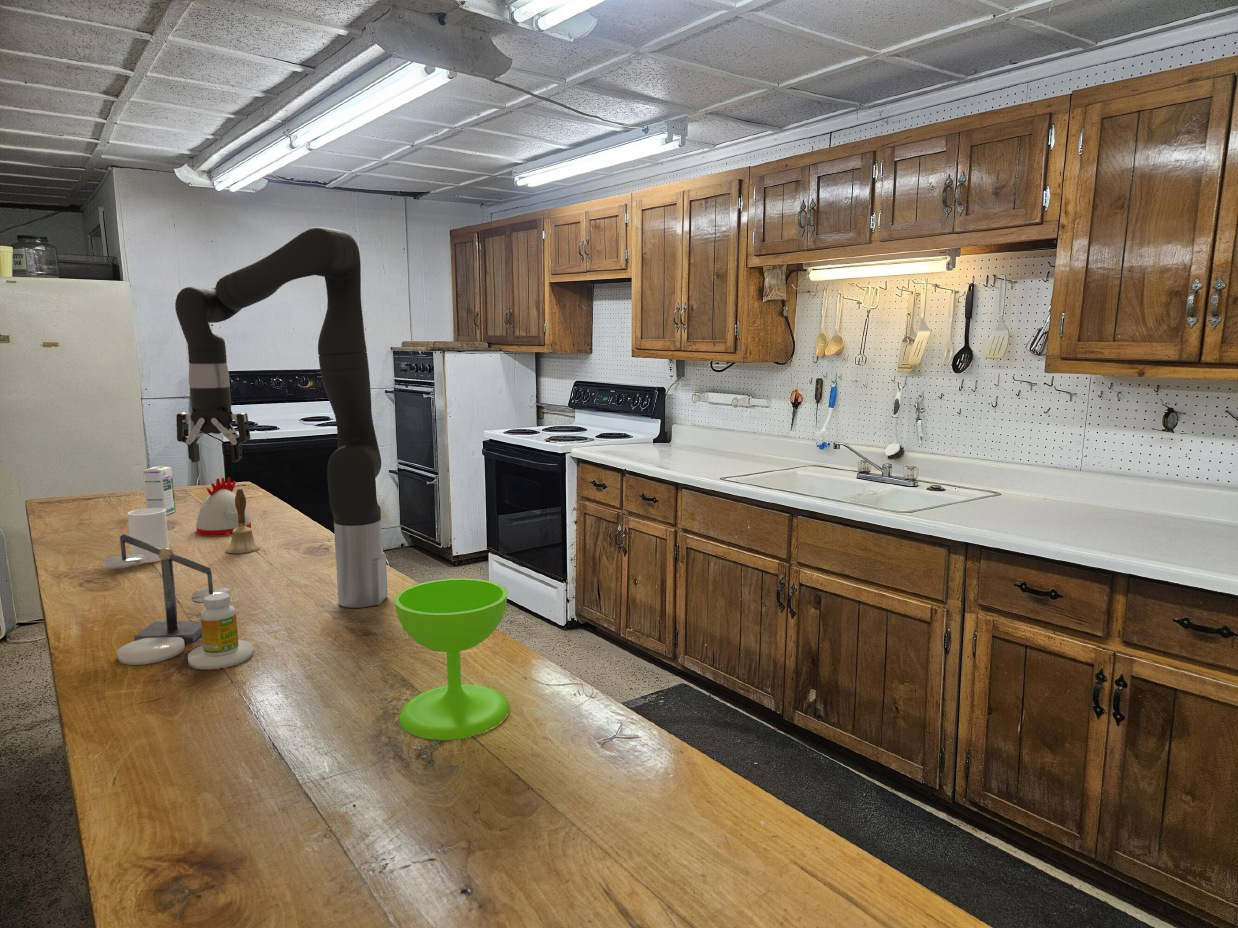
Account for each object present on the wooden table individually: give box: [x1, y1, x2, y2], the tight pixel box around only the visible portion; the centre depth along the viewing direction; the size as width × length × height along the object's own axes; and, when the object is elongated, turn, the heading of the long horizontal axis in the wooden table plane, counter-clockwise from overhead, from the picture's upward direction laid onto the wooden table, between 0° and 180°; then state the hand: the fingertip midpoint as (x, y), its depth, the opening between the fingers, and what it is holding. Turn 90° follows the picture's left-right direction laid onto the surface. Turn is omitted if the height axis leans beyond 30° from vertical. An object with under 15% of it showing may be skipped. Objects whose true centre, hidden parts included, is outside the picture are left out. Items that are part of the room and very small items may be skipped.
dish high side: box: [117, 636, 186, 666], centre depth 136 cm, size 10×10×1 cm
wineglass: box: [393, 577, 511, 741], centre depth 113 cm, size 16×16×18 cm
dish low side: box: [187, 639, 254, 671], centre depth 134 cm, size 10×10×1 cm
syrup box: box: [142, 465, 177, 516], centre depth 240 cm, size 6×6×14 cm
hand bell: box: [225, 488, 262, 555], centre depth 200 cm, size 8×8×16 cm
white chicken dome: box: [196, 476, 252, 537], centre depth 221 cm, size 14×14×15 cm
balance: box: [102, 533, 232, 644], centre depth 142 cm, size 21×7×19 cm, turn 95°
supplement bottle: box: [200, 593, 239, 656], centre depth 133 cm, size 5×5×10 cm
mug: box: [127, 507, 170, 564], centre depth 194 cm, size 12×8×12 cm
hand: (215, 461), depth 166 cm, fingers open, 8 cm apart
